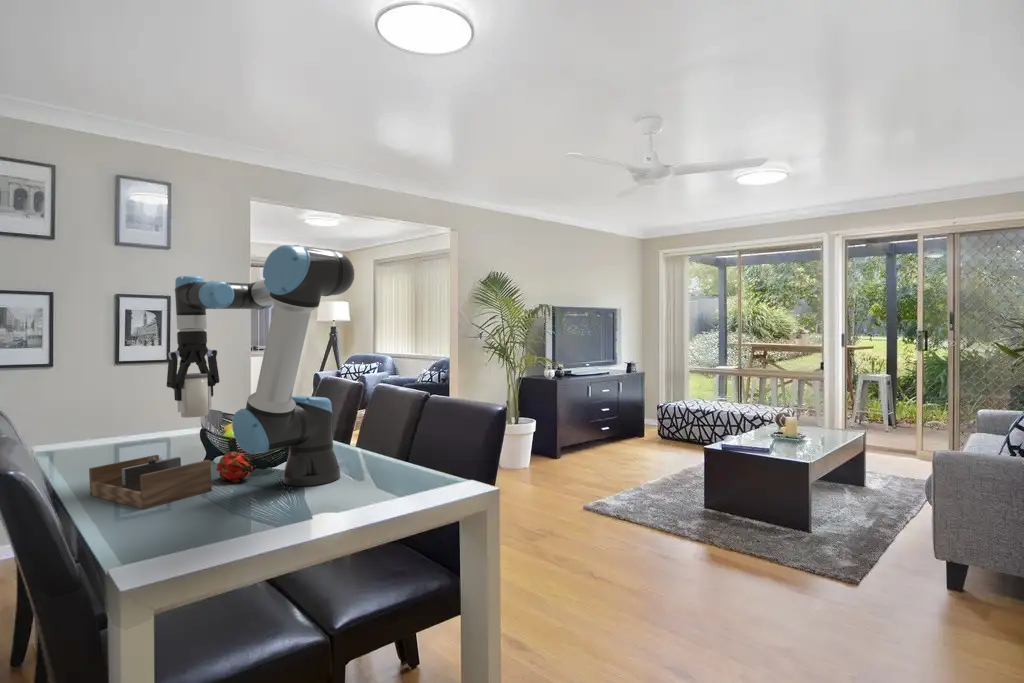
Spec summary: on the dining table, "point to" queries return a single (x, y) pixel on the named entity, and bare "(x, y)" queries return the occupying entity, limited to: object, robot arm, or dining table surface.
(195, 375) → the jar
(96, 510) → the dining table surface
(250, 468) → the dragon fruit
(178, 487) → the wooden box
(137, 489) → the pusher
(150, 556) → the dining table surface
